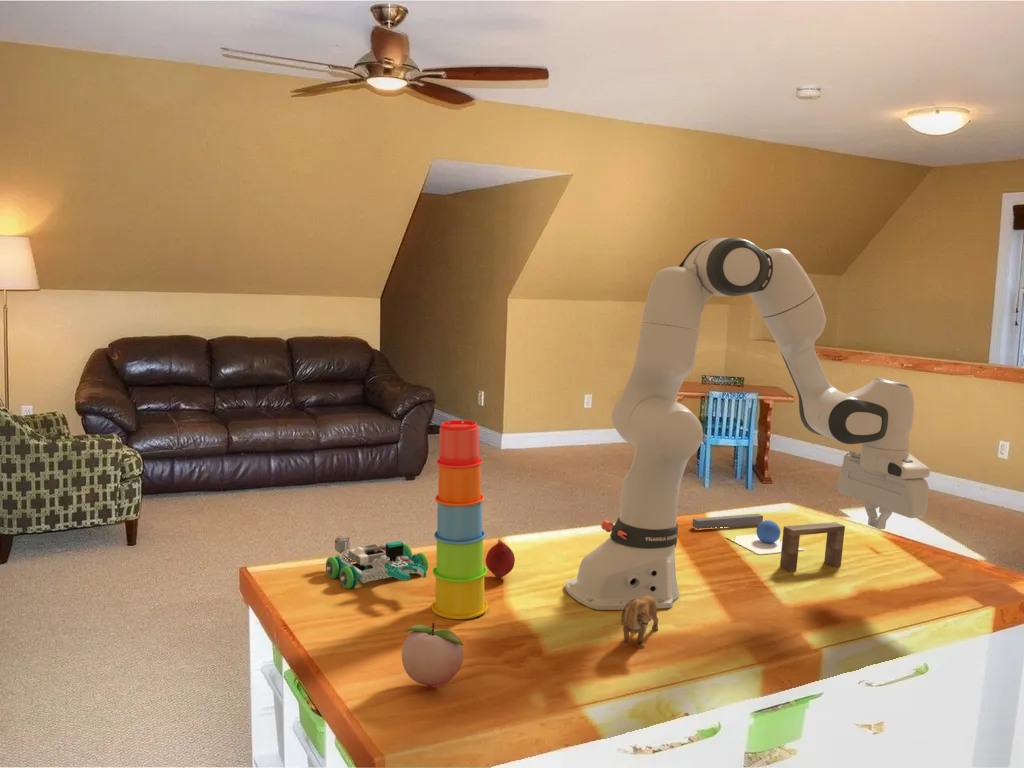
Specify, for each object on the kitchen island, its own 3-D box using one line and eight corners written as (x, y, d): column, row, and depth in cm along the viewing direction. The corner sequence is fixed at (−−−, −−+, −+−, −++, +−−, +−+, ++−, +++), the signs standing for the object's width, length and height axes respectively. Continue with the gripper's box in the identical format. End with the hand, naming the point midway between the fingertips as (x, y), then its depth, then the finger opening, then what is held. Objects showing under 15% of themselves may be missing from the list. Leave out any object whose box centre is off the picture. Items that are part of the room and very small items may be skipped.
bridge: (840, 565, 193) (845, 526, 192) (789, 571, 188) (793, 530, 186) (831, 561, 196) (835, 522, 195) (779, 566, 190) (783, 526, 189)
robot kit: (376, 614, 154) (378, 564, 153) (316, 571, 174) (317, 526, 173) (463, 595, 166) (465, 548, 164) (397, 556, 185) (399, 514, 184)
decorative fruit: (391, 697, 125) (393, 631, 123) (407, 671, 133) (409, 609, 131) (454, 706, 123) (457, 639, 122) (467, 679, 131) (470, 616, 130)
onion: (515, 574, 177) (517, 536, 176) (512, 584, 172) (514, 545, 171) (486, 571, 178) (488, 534, 177) (483, 581, 172) (485, 542, 171)
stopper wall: (696, 530, 214) (697, 520, 214) (692, 528, 216) (693, 518, 216) (762, 525, 222) (763, 515, 222) (757, 523, 224) (758, 513, 224)
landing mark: (759, 554, 198) (759, 554, 198) (724, 537, 210) (724, 536, 210) (804, 550, 203) (804, 549, 203) (767, 533, 215) (767, 533, 215)
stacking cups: (474, 624, 151) (484, 430, 147) (421, 613, 155) (429, 423, 150) (496, 604, 161) (505, 421, 156) (445, 594, 164) (453, 415, 160)
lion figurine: (647, 659, 141) (651, 606, 140) (615, 653, 143) (619, 601, 142) (660, 625, 155) (664, 577, 154) (631, 620, 157) (634, 573, 156)
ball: (767, 547, 204) (768, 524, 203) (751, 541, 208) (752, 519, 208) (784, 544, 206) (785, 522, 206) (768, 539, 211) (769, 517, 211)
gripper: (833, 449, 181) (827, 513, 183) (912, 472, 162) (904, 543, 164) (856, 448, 183) (850, 512, 185) (937, 471, 165) (929, 541, 167)
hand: (876, 527), depth 175 cm, fingers closed
